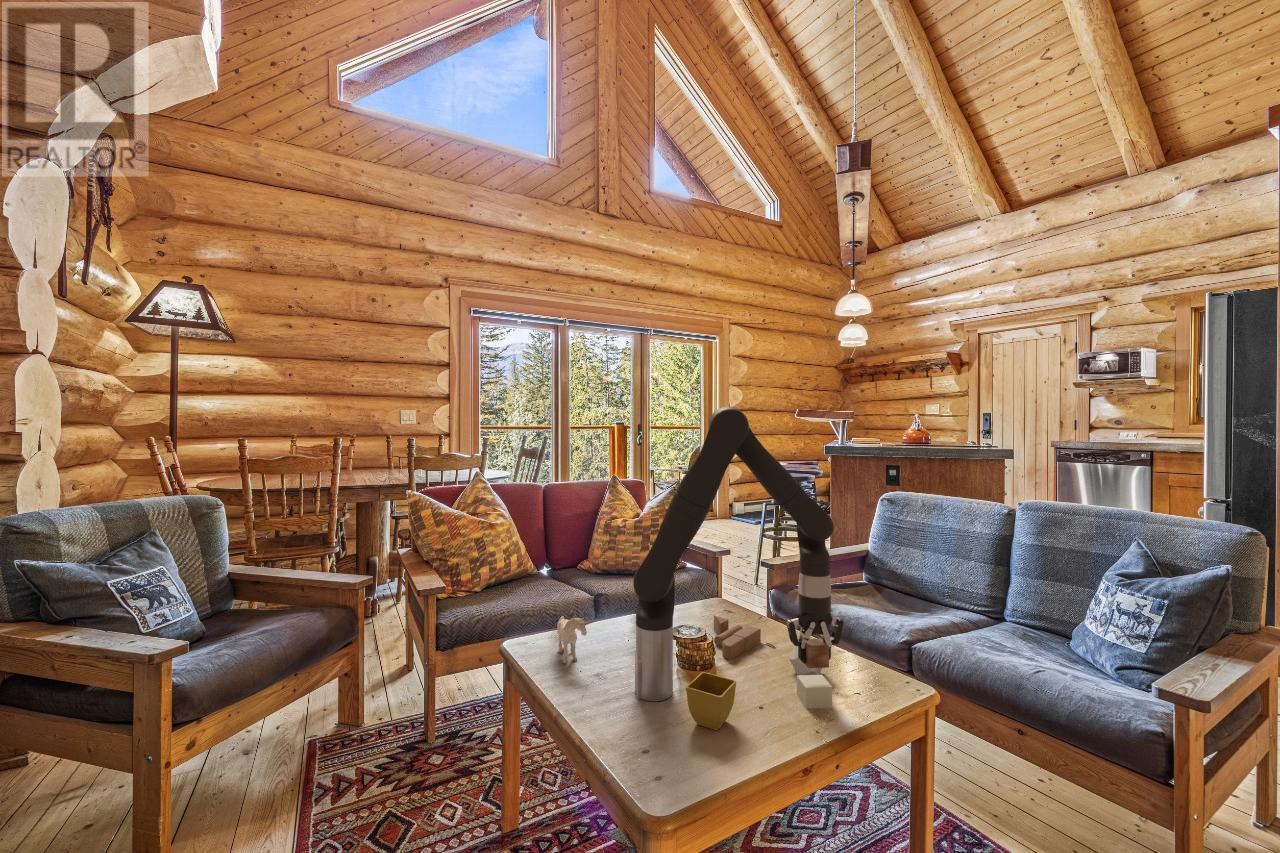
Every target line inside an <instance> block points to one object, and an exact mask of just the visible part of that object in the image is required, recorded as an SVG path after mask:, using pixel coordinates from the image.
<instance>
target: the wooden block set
mask: <svg viewBox="0 0 1280 853" xmlns="http://www.w3.org/2000/svg"><path fill="white" fill-rule="evenodd" d="M713 629H714V632H715V633H716V636H715V637H714V639H713V642H714V644H715V645H716V646H717V647H718V648H721V653H722V654H721V655H722V656H723V658H724V659H726V660H729V661H731V660H733V659H734V658H737V656H740V655H741V654H743V653H745V652H748V651H749V650H751V649H753V648H754V647H756V646H758V645H759V644H761V639H762V638H761V634H762V633H761V628H758V627H754V626H751V625H747V626H745V627H743V626H741V625H739V624H737V625H734V626H733V627H730V628H729V619H728V618H724V617H720V616H717V615H713Z"/></svg>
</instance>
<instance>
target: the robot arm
mask: <svg viewBox="0 0 1280 853" xmlns="http://www.w3.org/2000/svg"><path fill="white" fill-rule="evenodd" d="M708 421H709V422H708V430H707V434H706V437H705V439H704V441H703V444H702V446H701V449H700V452H699V454H698V456H697V457H696V459H695V460H694V462H693V464H691V466H690V467H689V469H688V470H687V472H686V474H684V476H683V478H682V479H681V481H680V483H679V484H678V486H677V488H676V489H675V492H674V494H673V496H672V498H671V500H670V502H669V505H668V507H667V509H666V512H665V513H664V516H663V519H662V521H661V524H660V526H659V529H658V532H657V535H656V537H655V540H654V542H653V544H652V546H651V548H650V550H649V551H648V552H647V554H646V556H645V558H644V559H643V561H642V563H641V564H640V565H639V567H638V568H637V569H636V571H635V573H634V575H633V583H632V584H633V589H634V593H635V594H636V596H637V598H638V603H637V609H636V612H635V650H634V690H635V695H636V699H637V700H644V701H649V702H660V701H661V702H662V701H665V700H667V699H670V698H671V697H672V696H673V694H674V612H675V597H676V596H675V592H676V583H675V582H676V579H675V578H676V576H675V572H676V569H677V567H678V564H679V563H680V561H681V558H682V556H683V554H684V553H685V551H686V550H687V548H688V547H689V545H690V543H691V542H692V540H693V539H694V538H695V536H696V535H697V533H698V531H699V530H700V529H701V526H702V525H703V523H704V521H705V519H706V517H707V515H708V513H709V511H710V509H711V508H712V505H713V502H714V500H715V498H716V496H717V494H718V492H719V489H720V486H721V483H722V481H723V479H724V475H725V473H726V471H727V468H728V467H729V465H730V463H732V460H733V459H734V457H735V455H736V456H737V458H739V459H740V460H741V461H742V462H743V463H744V465H745V466H746V467H747V468H748V469H749V471H750V472H751V473H752V475H753V476H754V477H755V479H756V480H757V481H758V482H759V484H760V485H761V486H762V487H763V489H764V490H765V491H766V492H767V493H768V495H769V496H770V497H771V498H772V499H773V500H774V501H775V503H776V504H777V505H778V506H779V507H780V508H781V509H782V510H784V512H786V513H787V514H788V515H790V516H791V518H792V519H793V521H794V522H795V523H796V535H797V542H798V548H799V576H798V586H797V589H798V614H797V616H796V618H793V619H791V618H787V619H785V624H786V628H787V632H788V636H789V640H790V642H791V643H792V645H793V646H794V645H795V646H798V657H799V659H800V660H801V662H802V663H806V648H805V647H806V645H807V642H808V640H809V639H811V637H812V636H813V635H819V636H820V637H821V640H823V641H824V642H825V643H826V644H827V645H828V646H829V661H830V660H831V659H832V647H833V645H839V644H840V640H841V636H842V631H843V627H844V623H845V622H844V620H842V619H841V618H840V617H839V616H832V613H831V612H832V581H831V558H830V557H831V556H830V553H829V551H828V549H827V546H826V540H829V538H830V537H831V536H832V535H833V533H834V522H833V519H832V518H831V516H830V515H829V514H828V512H827V511H825V509H823V507H821V505H820V504H818V502H816V501H815V500H814V498H812V497H811V496H810V495H809V494H808V493H807V491H806V490H805V489H804V488H803V486H801V484H800V483H799V482H798V481H797V479H796V478H795V477H793V475H792V474H791V473H790V471H788V470H787V468H785V466H783V464H781V463H780V462H779V461H778V460H777V459H776V458H775V457H774V456H773V455H772V454H771V453H770V452H769V451H768V449H766V447H764V445H763V444H762V443H761V441H760V440H759V439H758V438H757V437H756V435H755V434H754V432H753V430H752V429H751V427H750V423H749V420H748V418H747V416H746V414H744V412H742V411H741V410H740V409H739V408H736V407H734V406H722V407H719V408H717V409H716V410H714V411H713V413H712V414H711V415H710V418H709V420H708ZM798 625H799V626H801V628H800V630H799V635H798V634H797V630H796V629H798ZM830 625H831V626H832V628H831V632H830V633H829V629H828V628H829V627H830Z"/></svg>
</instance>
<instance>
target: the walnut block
mask: <svg viewBox="0 0 1280 853" xmlns="http://www.w3.org/2000/svg"><path fill="white" fill-rule="evenodd" d="M805 648H806V663H804V664H805V665H806V666H807V667H808V668H822V669H826V668H830V660H829V646H828V645H827V644H826V643H825V642H824V641H823V640H822V638H816V637H815V638H810V639H809V640H808V642H807V645H806V647H805Z"/></svg>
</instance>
